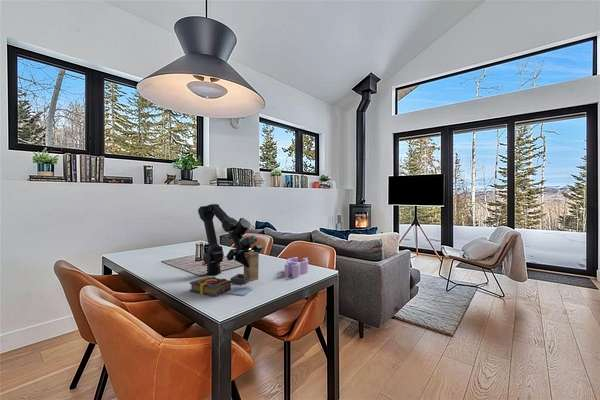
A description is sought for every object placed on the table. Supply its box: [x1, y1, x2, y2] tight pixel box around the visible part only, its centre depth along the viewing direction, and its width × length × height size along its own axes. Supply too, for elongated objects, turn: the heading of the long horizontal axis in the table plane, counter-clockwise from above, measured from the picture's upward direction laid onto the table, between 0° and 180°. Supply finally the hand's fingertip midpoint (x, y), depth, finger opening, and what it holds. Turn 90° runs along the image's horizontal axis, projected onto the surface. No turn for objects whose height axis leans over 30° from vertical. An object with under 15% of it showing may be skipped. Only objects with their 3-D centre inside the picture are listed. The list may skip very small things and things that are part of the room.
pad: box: [227, 286, 253, 297], centre depth 124 cm, size 8×8×1 cm
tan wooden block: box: [243, 251, 260, 283], centre depth 131 cm, size 5×5×13 cm
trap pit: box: [230, 273, 250, 285], centre depth 140 cm, size 8×8×2 cm
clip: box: [284, 256, 309, 279], centre depth 156 cm, size 20×12×7 cm, turn 161°
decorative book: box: [189, 276, 232, 298], centre depth 126 cm, size 11×16×5 cm
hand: (252, 266), depth 130 cm, fingers closed on tan wooden block, 5 cm apart
